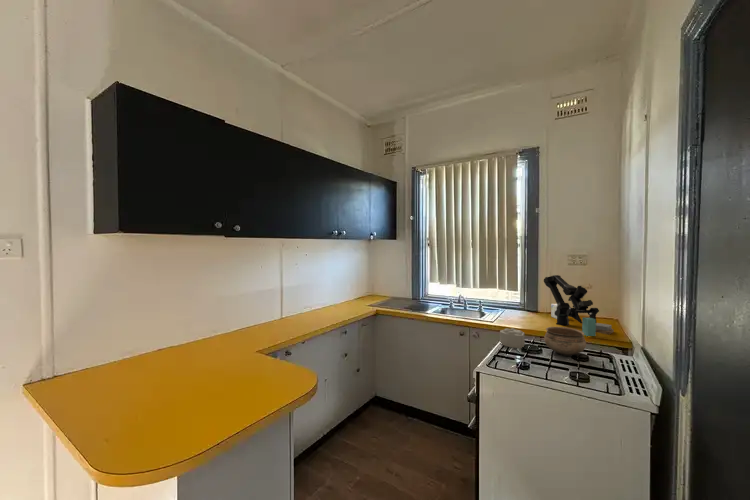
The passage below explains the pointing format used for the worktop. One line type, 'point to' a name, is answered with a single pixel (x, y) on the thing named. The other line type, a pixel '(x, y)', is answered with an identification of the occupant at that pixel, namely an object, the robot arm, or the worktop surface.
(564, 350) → the cooking pot
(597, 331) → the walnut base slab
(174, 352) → the worktop surface
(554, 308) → the light bulb box
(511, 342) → the lumpy-topped squat cylinder
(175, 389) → the worktop surface
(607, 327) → the charcoal top slab
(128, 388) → the worktop surface
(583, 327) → the teal pillar block
